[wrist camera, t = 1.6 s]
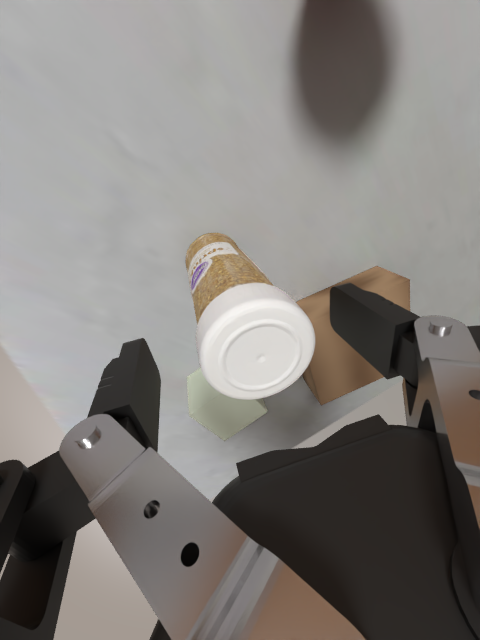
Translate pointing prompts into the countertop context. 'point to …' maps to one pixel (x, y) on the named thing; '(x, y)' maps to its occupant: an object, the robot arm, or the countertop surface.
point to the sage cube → (220, 408)
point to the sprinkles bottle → (244, 323)
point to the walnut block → (335, 353)
